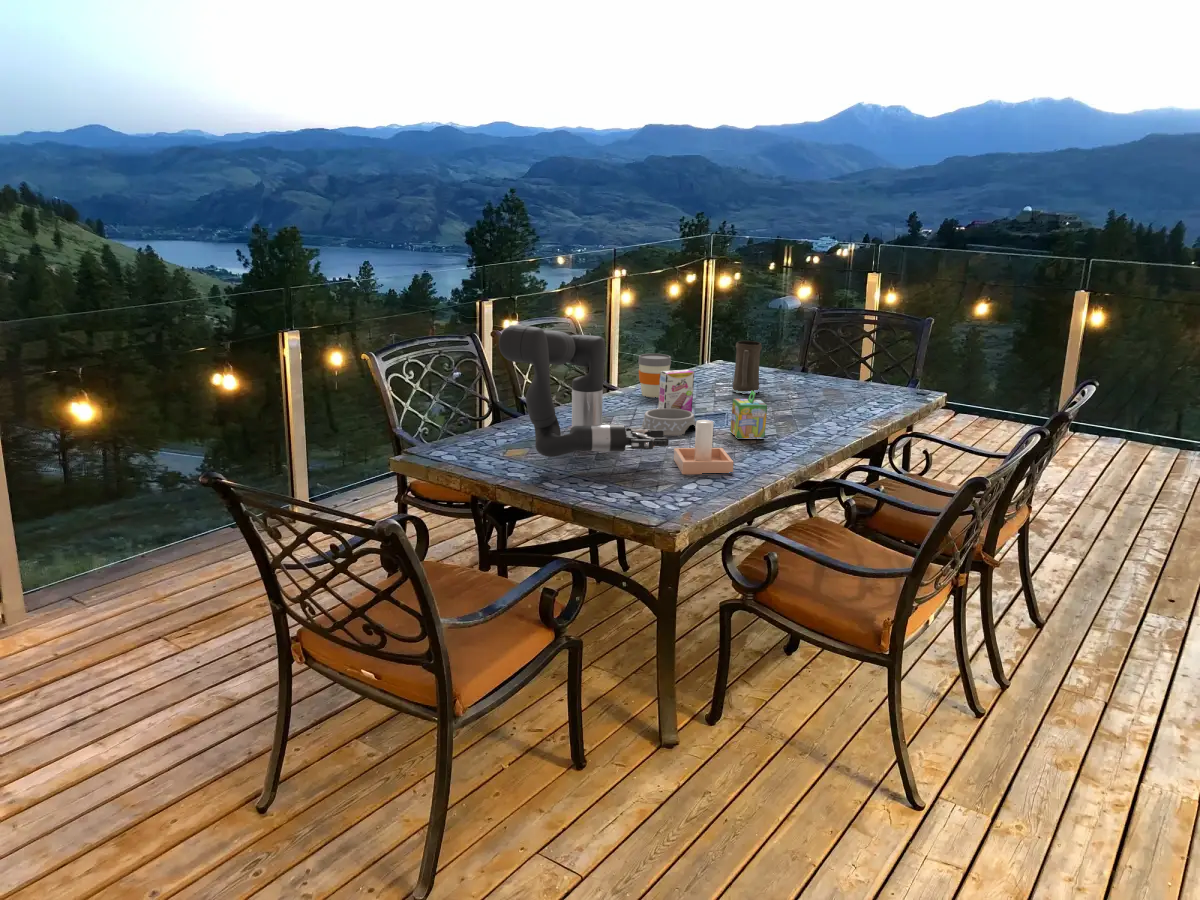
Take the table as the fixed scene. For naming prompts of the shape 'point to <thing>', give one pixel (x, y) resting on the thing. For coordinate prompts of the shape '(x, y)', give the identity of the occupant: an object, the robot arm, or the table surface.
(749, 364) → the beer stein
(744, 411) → the chalk box
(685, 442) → the table surface
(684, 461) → the terracotta tray
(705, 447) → the ceramic canister
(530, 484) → the table surface
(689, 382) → the candy bar box
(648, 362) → the reusable coffee cup
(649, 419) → the dog bowl
